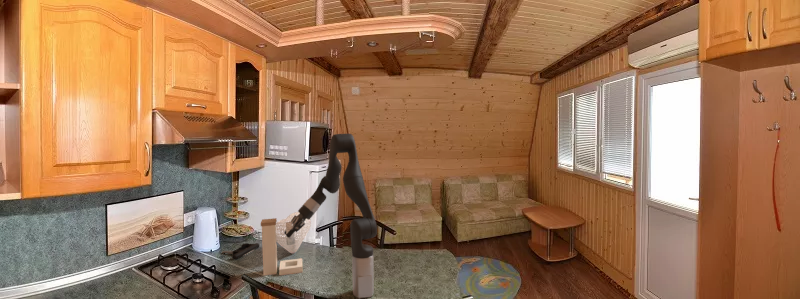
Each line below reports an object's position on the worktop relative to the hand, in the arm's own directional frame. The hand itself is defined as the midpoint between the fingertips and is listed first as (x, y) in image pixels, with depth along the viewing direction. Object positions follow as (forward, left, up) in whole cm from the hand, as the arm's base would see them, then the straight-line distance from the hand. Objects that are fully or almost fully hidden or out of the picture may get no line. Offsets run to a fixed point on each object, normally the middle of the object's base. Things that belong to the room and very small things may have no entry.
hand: (286, 235), depth 161 cm
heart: (+23, -2, -19) cm, 30 cm away
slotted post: (0, +2, -18) cm, 19 cm away
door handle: (+35, +28, -19) cm, 49 cm away
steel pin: (+1, -2, -5) cm, 5 cm away
